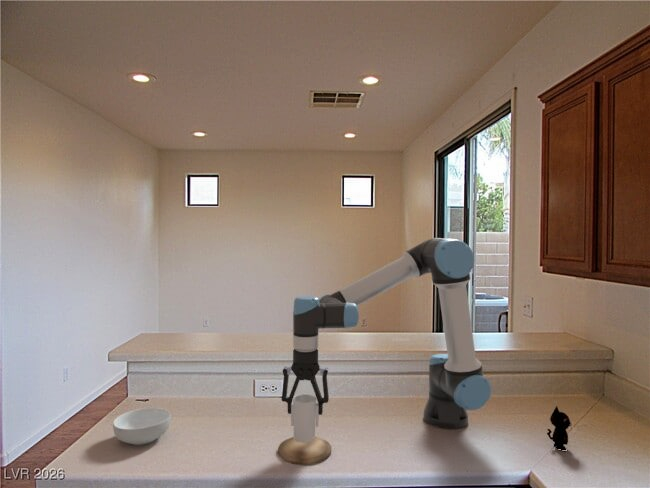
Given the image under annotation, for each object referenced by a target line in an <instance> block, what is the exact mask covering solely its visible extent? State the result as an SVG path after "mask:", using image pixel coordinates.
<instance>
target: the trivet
mask: <svg viewBox="0 0 650 488" xmlns="http://www.w3.org/2000/svg"><path fill="white" fill-rule="evenodd" d="M277 451H278V456H279V458H280V459H282V460H283V461H285V462H287V463H290V464H295V465H305V466H306V465H308V466H309V465H315V464H318V462H319V463H321V461H322V462H323V461H326V460H327V459H329V457H330V456H331V455H332V445H331V443H329V441H327V440H326V439H324V438H321V437H319V436H315V438H314V440H313V441H311V442H307V443H301V442H297V441H295V440H294V436H293V437H290V438H287V439H285V440H283V441H281V442H280V444H279V445H278V448H277Z"/></svg>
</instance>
